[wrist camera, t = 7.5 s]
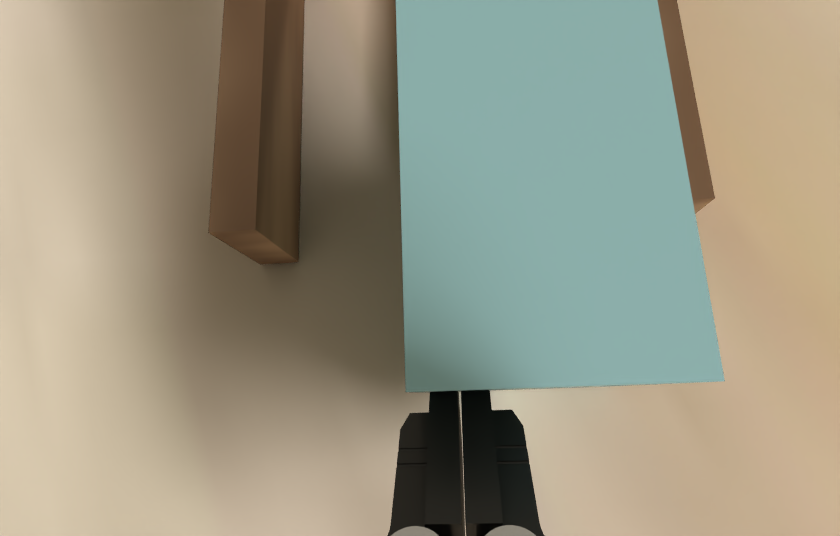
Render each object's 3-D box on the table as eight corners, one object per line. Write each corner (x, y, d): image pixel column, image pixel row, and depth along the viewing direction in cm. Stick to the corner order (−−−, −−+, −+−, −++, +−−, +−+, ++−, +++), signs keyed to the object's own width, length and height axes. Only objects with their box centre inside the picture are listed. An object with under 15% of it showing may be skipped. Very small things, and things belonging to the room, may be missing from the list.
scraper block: (433, 392, 18) (405, 391, 10) (420, 48, 21) (391, -153, 13) (609, 386, 17) (724, 381, 9) (566, 34, 21) (625, -183, 13)
